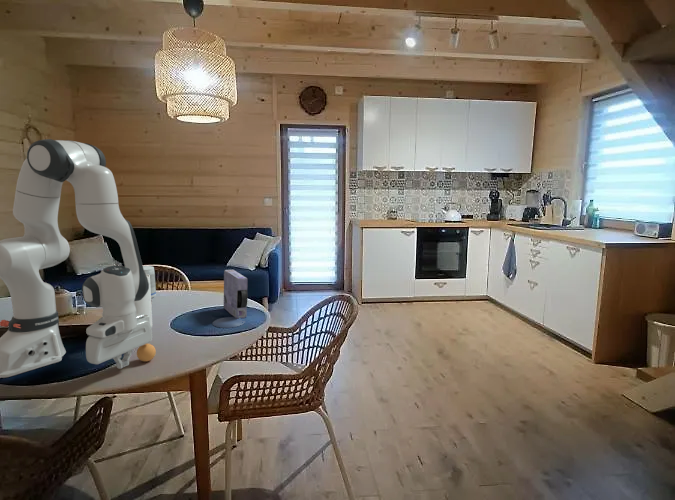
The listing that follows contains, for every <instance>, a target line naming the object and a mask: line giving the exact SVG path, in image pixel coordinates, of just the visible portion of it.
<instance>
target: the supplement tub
mask: <svg viewBox="0 0 675 500" xmlns="http://www.w3.org/2000/svg"><path fill="white" fill-rule="evenodd" d="M143 269H144V271H145V274H149V275H150V286H151V299H152V298H155V297H156V296H157V290H156V288H157V287H156V274H155V267H154V266H152V265H143Z"/></svg>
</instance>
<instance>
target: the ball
mask: <svg viewBox="0 0 675 500" xmlns="http://www.w3.org/2000/svg"><path fill="white" fill-rule="evenodd" d="M156 352H157V350H156V348H155V346H154V345H153V344H151V343H147V344H145V345H142V346H140V347H138V349H137V351H136V357H137V359H138V360H140V361H141V362H146V363H147V362H149V361H152V360H153V359H154V358H155V356H156V354H157V353H156Z"/></svg>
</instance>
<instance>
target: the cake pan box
mask: <svg viewBox="0 0 675 500" xmlns="http://www.w3.org/2000/svg"><path fill="white" fill-rule="evenodd" d="M248 296H249V295H248V278H247V277H246V276H244V275H242V274H241V273H239V272H238V271H236V270H235V269H224V271H223V309H225V310H226V311H227V312H228V313H229V314H230V315H231V316H232V317H235V318H237V319H239V318H242V319H246V318H245V317H247V316H248V315H247V314H248V312H247V311H248V310H247V306H248V298H249V297H248Z"/></svg>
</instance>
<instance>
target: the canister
mask: <svg viewBox="0 0 675 500" xmlns="http://www.w3.org/2000/svg"><path fill="white" fill-rule="evenodd" d="M146 276H147V279H148V283H149V289H148V292H147V293H146V295H145V296H144V297H143V298H142V299H141V300H139V301H134V304H135V307H136V314H137V316H140V315H142V314H145V315H148V317H149V321H150V325H151V328H153V312H152V311H153V309H152V308H153V307H152V304H151V303H152V302H151V300H152V298H151V286H150V275H149V274H146Z"/></svg>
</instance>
